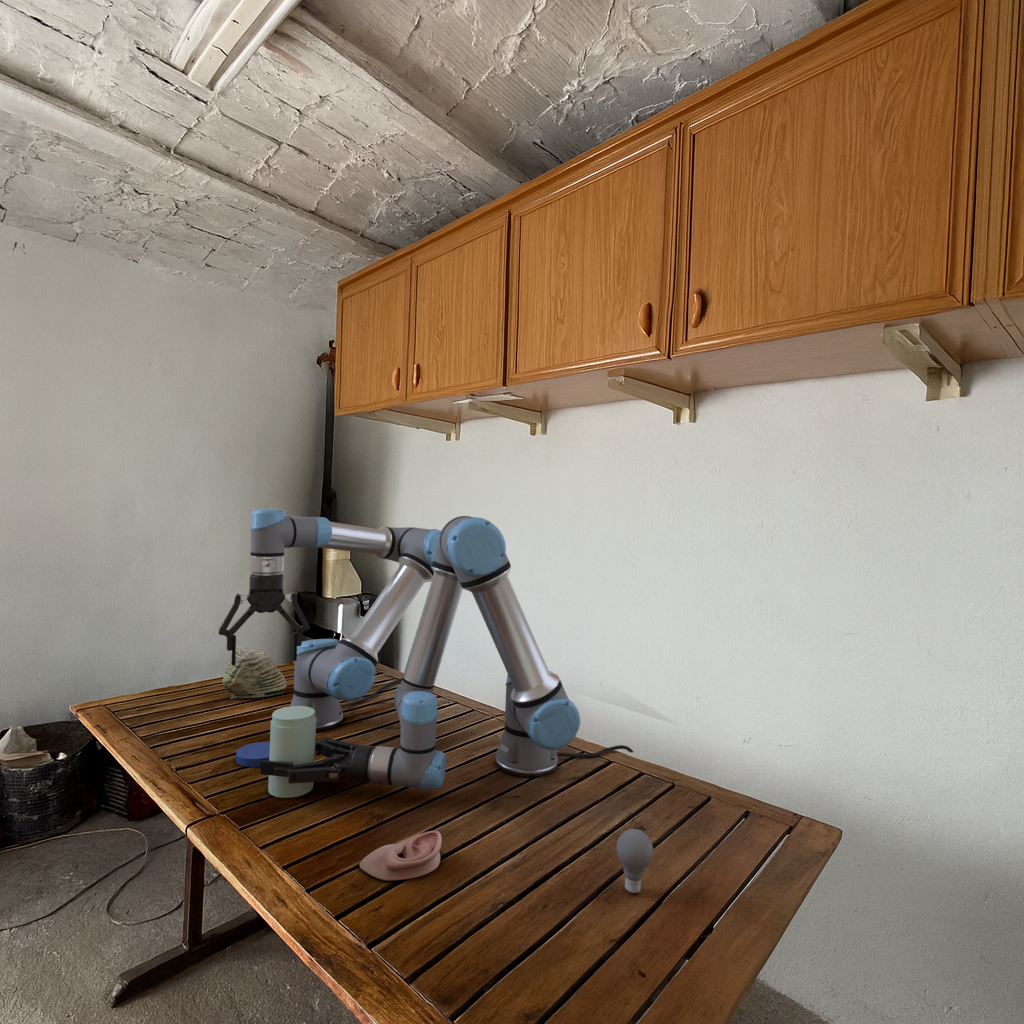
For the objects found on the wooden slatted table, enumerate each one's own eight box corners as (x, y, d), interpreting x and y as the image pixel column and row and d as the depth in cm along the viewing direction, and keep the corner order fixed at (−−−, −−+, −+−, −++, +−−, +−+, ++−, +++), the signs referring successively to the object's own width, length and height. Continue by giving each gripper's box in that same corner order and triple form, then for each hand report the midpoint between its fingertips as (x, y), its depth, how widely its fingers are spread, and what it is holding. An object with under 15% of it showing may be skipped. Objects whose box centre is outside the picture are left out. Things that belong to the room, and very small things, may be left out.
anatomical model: (352, 851, 106) (379, 818, 118) (351, 875, 106) (379, 839, 118) (427, 864, 104) (448, 829, 115) (426, 888, 104) (447, 850, 115)
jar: (274, 778, 141) (277, 705, 141) (317, 778, 142) (320, 705, 142) (262, 797, 132) (265, 719, 132) (308, 797, 133) (311, 719, 133)
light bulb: (610, 879, 108) (613, 822, 108) (644, 879, 109) (647, 822, 109) (619, 902, 102) (622, 840, 102) (655, 901, 103) (658, 840, 103)
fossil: (218, 695, 195) (220, 647, 195) (278, 685, 208) (279, 640, 207) (228, 703, 189) (230, 653, 188) (289, 692, 201) (290, 645, 201)
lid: (259, 770, 145) (259, 762, 145) (226, 761, 149) (226, 753, 149) (291, 754, 154) (292, 747, 154) (259, 746, 158) (260, 738, 158)
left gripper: (208, 576, 142) (206, 670, 143) (323, 574, 153) (320, 661, 153) (209, 572, 149) (207, 661, 150) (318, 570, 160) (316, 654, 160)
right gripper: (352, 808, 124) (246, 798, 126) (388, 759, 147) (298, 751, 149) (353, 770, 123) (247, 760, 126) (389, 727, 147) (299, 720, 149)
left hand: (264, 661), depth 151 cm, fingers open, 13 cm apart
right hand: (275, 755), depth 138 cm, fingers open, 11 cm apart
